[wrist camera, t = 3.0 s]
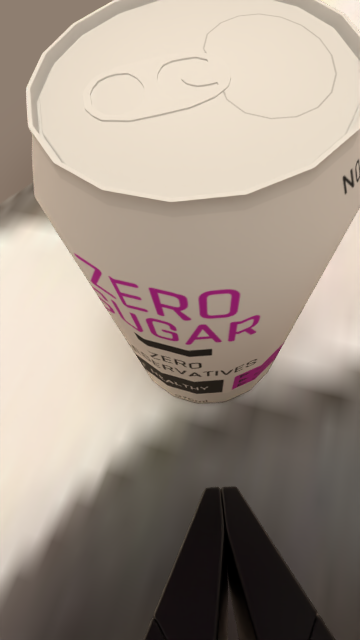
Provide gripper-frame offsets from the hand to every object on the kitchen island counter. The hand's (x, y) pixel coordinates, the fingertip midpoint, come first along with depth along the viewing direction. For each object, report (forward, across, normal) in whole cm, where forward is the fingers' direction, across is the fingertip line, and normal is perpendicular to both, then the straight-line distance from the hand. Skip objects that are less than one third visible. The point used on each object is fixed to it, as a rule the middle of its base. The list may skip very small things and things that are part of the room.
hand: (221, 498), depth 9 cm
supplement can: (+12, 0, +1) cm, 12 cm away
